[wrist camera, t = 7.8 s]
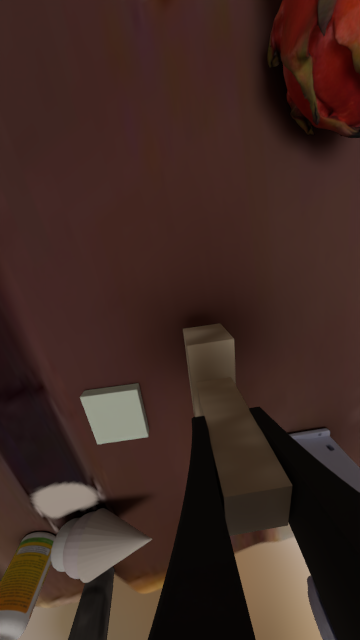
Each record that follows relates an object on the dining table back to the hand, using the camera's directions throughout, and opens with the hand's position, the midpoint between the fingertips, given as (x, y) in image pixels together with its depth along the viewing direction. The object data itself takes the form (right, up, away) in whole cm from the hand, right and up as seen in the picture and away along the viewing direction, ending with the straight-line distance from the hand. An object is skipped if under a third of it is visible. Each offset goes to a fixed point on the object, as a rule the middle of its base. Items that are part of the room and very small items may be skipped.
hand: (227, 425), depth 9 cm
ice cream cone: (-13, -23, +17) cm, 31 cm away
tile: (-7, -5, +11) cm, 13 cm away
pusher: (0, +1, +5) cm, 6 cm away
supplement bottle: (-25, -29, +18) cm, 42 cm away
